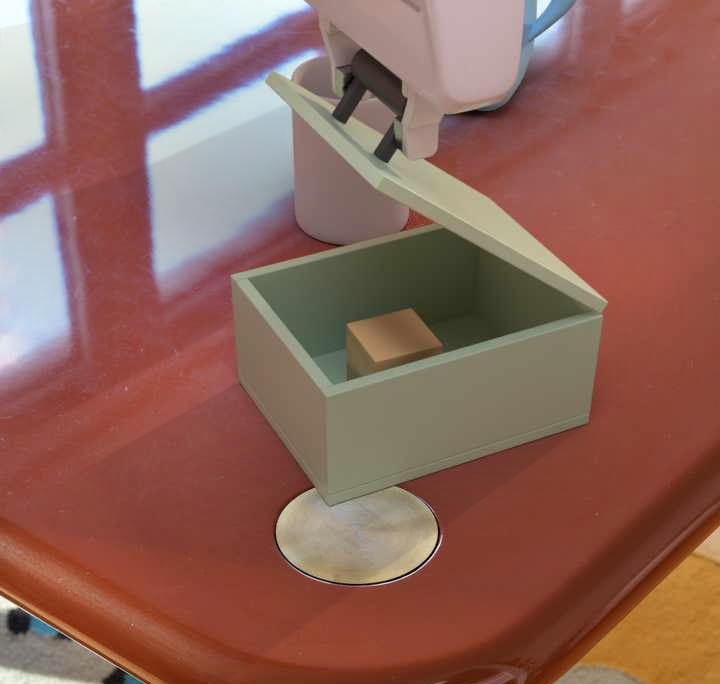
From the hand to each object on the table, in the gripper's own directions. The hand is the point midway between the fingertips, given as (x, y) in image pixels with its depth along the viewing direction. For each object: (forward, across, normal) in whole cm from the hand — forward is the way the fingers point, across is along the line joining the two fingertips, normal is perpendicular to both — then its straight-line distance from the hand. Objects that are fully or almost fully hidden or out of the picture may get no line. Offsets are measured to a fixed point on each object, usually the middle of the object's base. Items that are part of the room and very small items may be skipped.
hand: (383, 124), depth 72 cm
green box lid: (+5, 0, +3) cm, 6 cm away
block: (+18, 0, +1) cm, 18 cm away
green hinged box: (+19, 0, +2) cm, 19 cm away
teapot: (+19, -38, +26) cm, 50 cm away
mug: (+19, -24, +9) cm, 32 cm away
